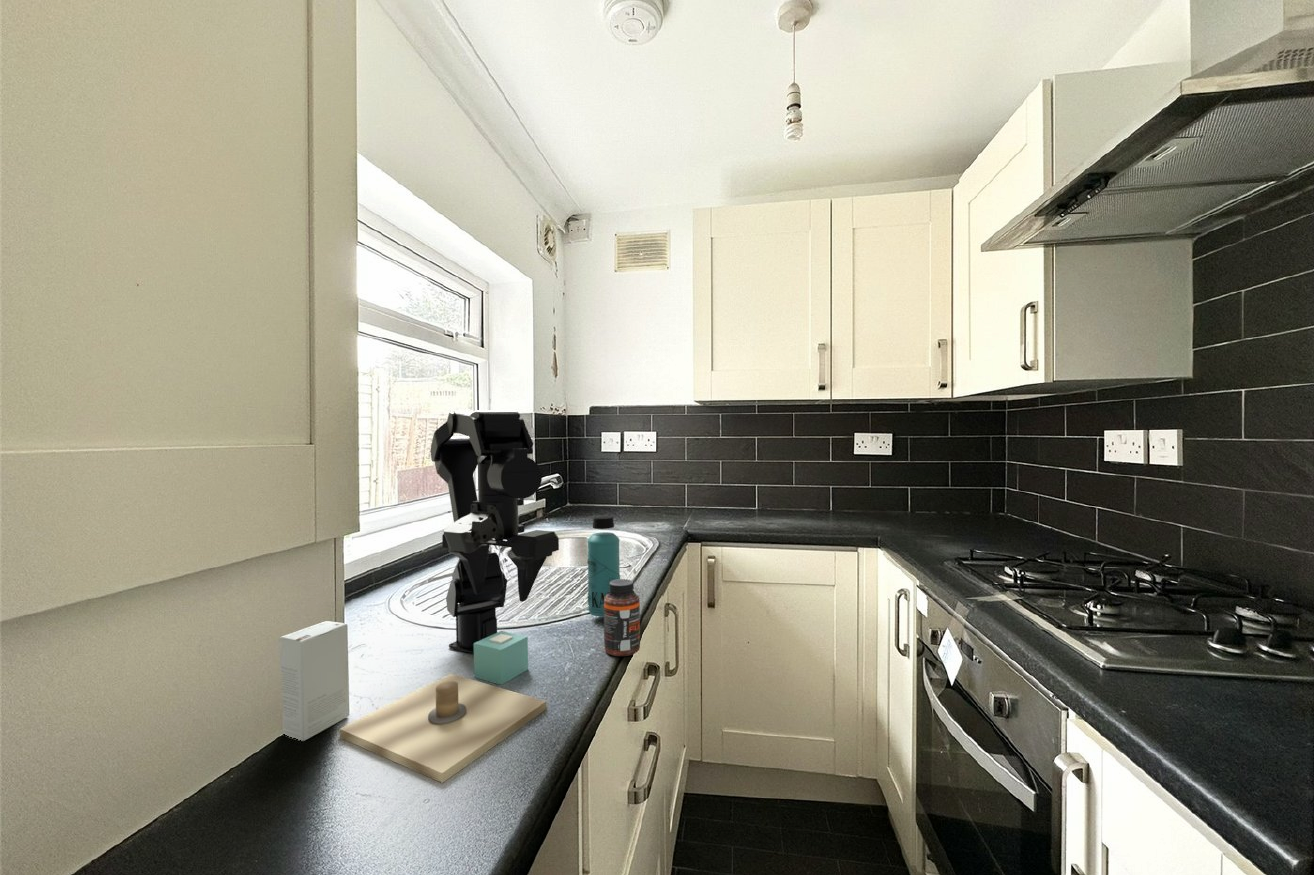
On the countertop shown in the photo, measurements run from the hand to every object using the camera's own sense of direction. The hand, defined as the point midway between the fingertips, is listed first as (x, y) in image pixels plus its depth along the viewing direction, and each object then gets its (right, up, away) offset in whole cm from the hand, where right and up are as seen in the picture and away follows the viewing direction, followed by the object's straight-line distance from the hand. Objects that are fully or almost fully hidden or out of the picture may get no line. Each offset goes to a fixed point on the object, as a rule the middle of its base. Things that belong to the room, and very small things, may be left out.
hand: (500, 597), depth 77 cm
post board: (-2, -11, -13) cm, 18 cm away
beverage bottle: (+13, -12, +22) cm, 29 cm away
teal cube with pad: (0, -11, 0) cm, 11 cm away
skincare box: (-19, -12, -14) cm, 26 cm away
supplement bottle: (+18, -11, +7) cm, 22 cm away
